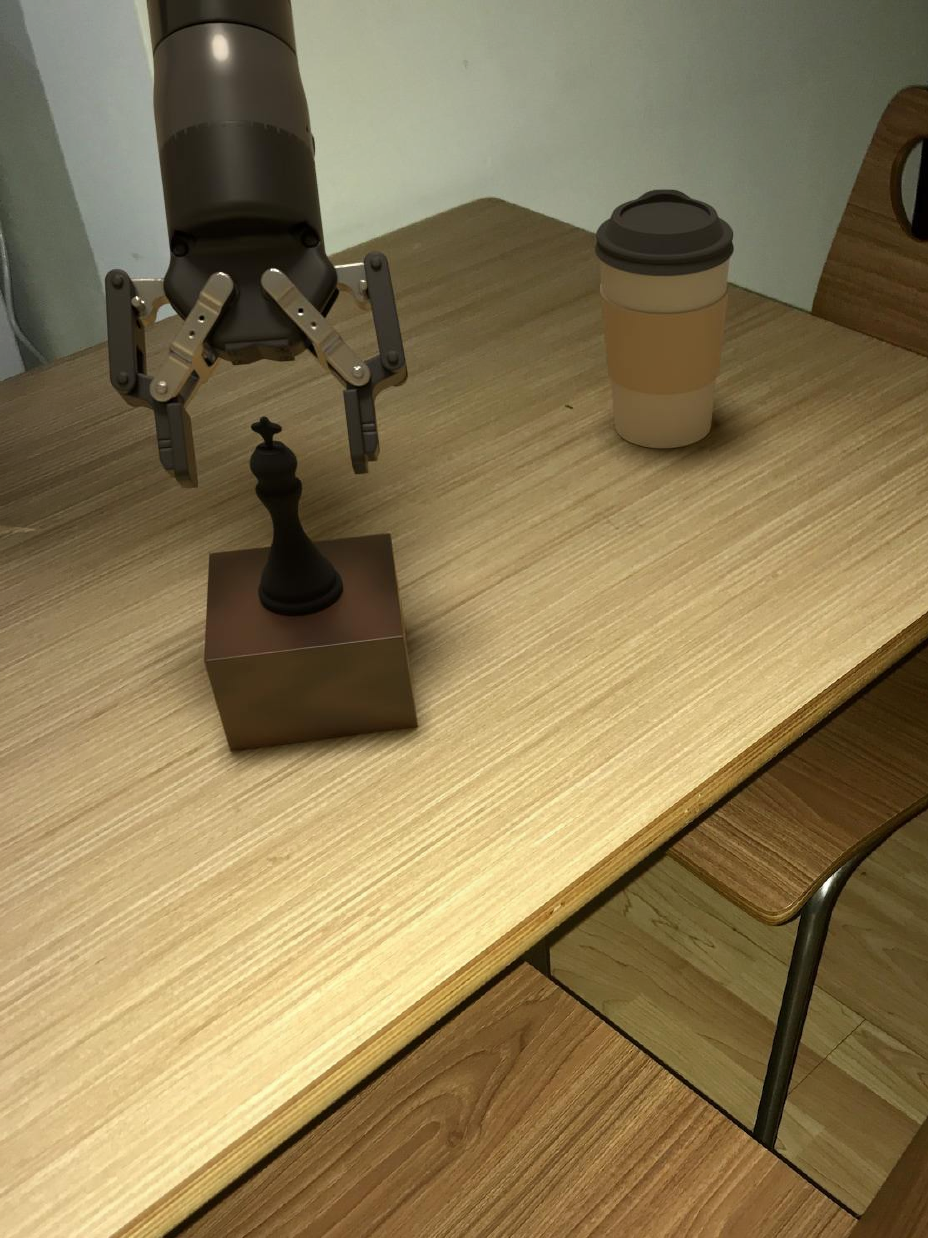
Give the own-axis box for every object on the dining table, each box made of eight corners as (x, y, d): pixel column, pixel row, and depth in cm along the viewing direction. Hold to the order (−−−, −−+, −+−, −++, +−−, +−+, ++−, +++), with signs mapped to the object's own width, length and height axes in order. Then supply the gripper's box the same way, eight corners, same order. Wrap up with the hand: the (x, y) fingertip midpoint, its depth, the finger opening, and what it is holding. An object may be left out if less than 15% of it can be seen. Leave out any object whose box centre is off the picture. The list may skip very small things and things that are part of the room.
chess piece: (277, 564, 73) (238, 391, 66) (354, 572, 72) (323, 399, 65) (246, 611, 70) (201, 435, 63) (326, 619, 69) (290, 443, 62)
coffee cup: (728, 456, 92) (739, 234, 82) (598, 457, 93) (591, 235, 82) (723, 395, 99) (732, 181, 88) (601, 395, 99) (595, 182, 88)
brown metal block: (229, 751, 71) (203, 661, 67) (232, 641, 78) (208, 552, 74) (418, 726, 72) (403, 636, 68) (404, 620, 79) (390, 532, 75)
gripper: (66, 123, 62) (107, 468, 62) (374, 104, 64) (413, 442, 64) (112, 200, 70) (148, 509, 70) (386, 182, 71) (421, 485, 71)
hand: (274, 477), depth 67 cm, fingers open, 8 cm apart
